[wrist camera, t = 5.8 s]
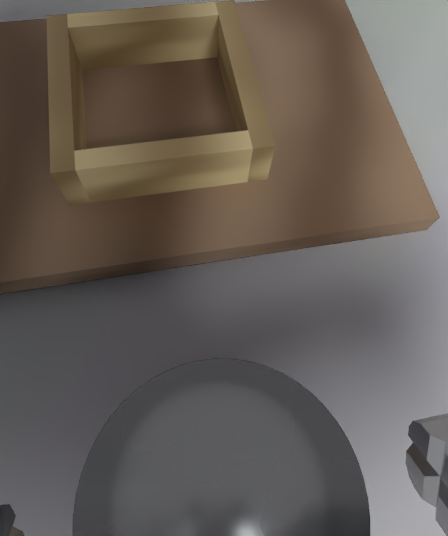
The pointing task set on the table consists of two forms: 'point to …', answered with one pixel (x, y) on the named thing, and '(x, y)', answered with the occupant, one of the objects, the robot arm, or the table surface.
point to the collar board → (193, 140)
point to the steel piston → (221, 460)
